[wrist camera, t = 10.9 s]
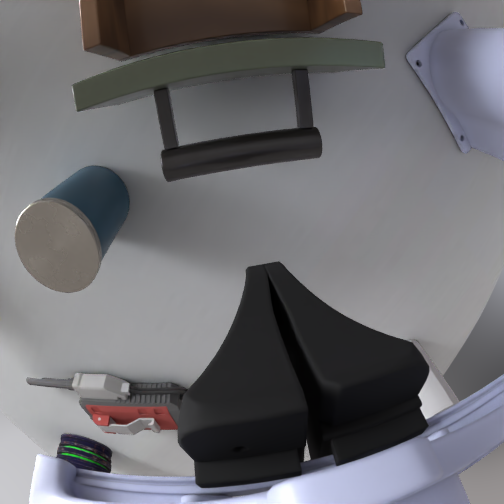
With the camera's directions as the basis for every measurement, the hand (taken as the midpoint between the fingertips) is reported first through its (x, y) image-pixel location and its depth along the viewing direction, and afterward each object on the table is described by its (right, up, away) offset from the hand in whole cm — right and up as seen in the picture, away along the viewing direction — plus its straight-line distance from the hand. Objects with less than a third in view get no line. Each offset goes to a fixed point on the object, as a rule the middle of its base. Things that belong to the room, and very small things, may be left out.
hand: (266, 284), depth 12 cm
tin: (-11, +5, +5) cm, 13 cm away
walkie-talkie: (-17, -14, +16) cm, 27 cm away
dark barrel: (-29, -32, +24) cm, 50 cm away
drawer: (-2, +14, 0) cm, 14 cm away
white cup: (+17, -11, +19) cm, 28 cm away
